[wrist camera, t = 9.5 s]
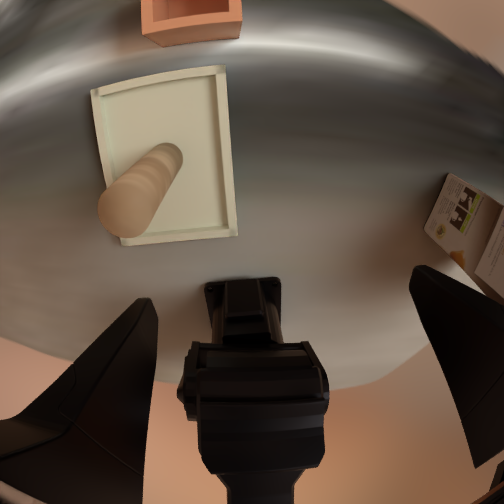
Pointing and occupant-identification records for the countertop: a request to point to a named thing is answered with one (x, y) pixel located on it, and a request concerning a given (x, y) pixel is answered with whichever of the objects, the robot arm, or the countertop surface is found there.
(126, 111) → the tray
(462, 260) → the coffee box
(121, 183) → the pin
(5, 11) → the countertop surface
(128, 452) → the robot arm
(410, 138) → the countertop surface
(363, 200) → the countertop surface
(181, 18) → the orange open box
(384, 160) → the countertop surface
